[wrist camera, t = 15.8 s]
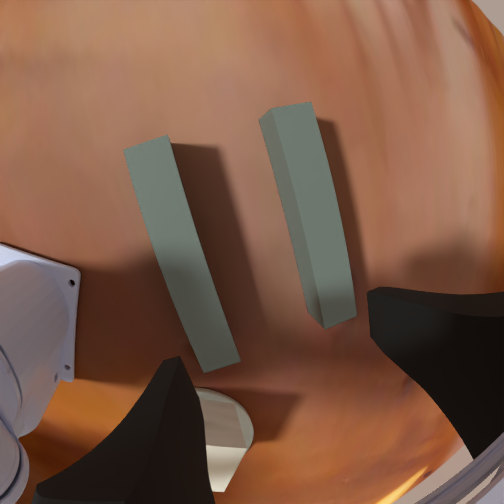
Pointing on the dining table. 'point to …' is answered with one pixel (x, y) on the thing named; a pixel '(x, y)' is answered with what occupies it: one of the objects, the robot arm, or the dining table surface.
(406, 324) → the robot arm
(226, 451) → the cream block
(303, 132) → the slot holder
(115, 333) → the dining table surface
